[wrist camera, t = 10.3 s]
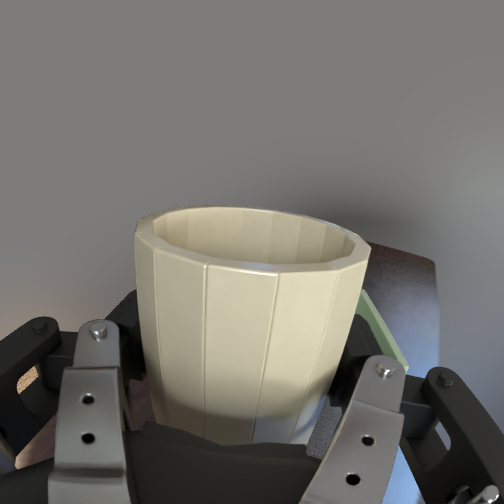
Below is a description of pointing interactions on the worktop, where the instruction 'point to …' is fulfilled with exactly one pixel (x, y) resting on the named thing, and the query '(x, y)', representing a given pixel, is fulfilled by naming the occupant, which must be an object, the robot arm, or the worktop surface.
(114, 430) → the robot arm
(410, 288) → the worktop surface
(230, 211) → the cup
